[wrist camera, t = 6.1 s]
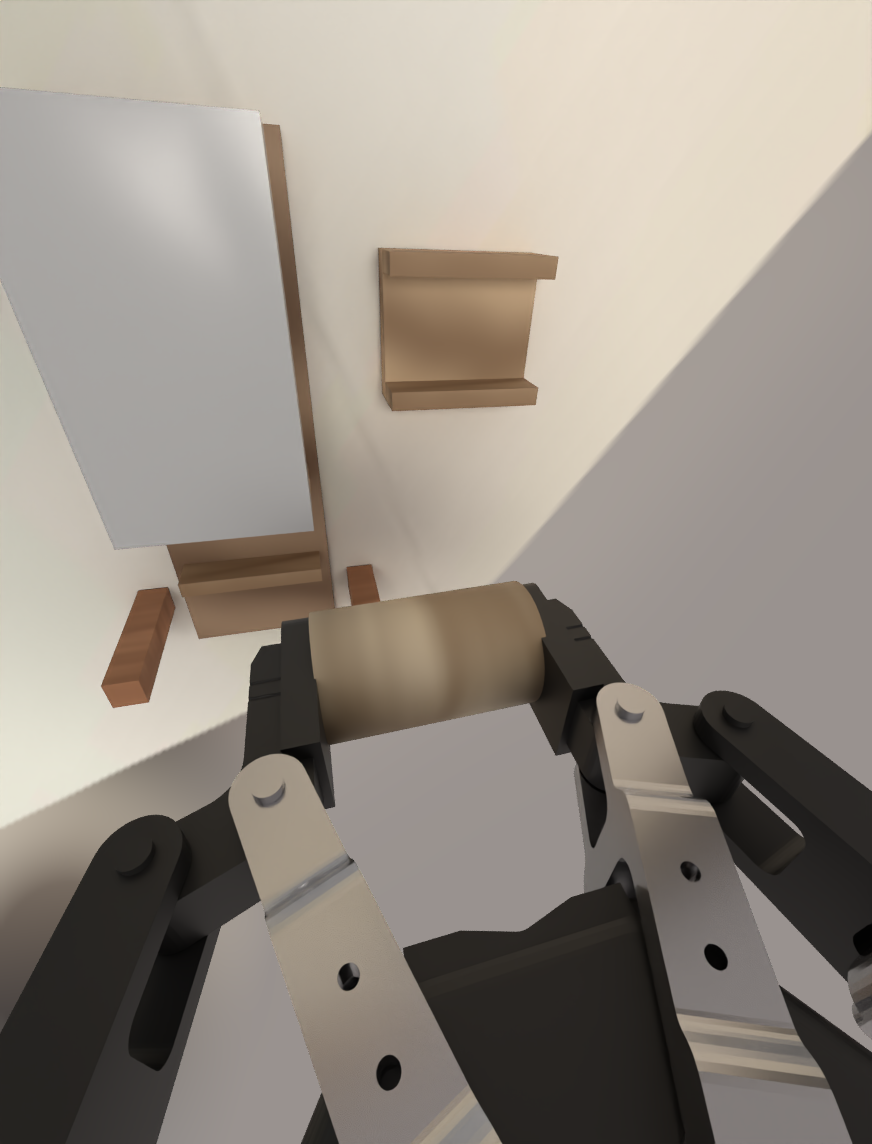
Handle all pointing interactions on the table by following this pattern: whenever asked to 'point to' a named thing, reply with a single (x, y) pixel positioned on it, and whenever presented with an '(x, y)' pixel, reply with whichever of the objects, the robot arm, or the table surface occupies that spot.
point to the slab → (156, 310)
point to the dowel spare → (425, 659)
